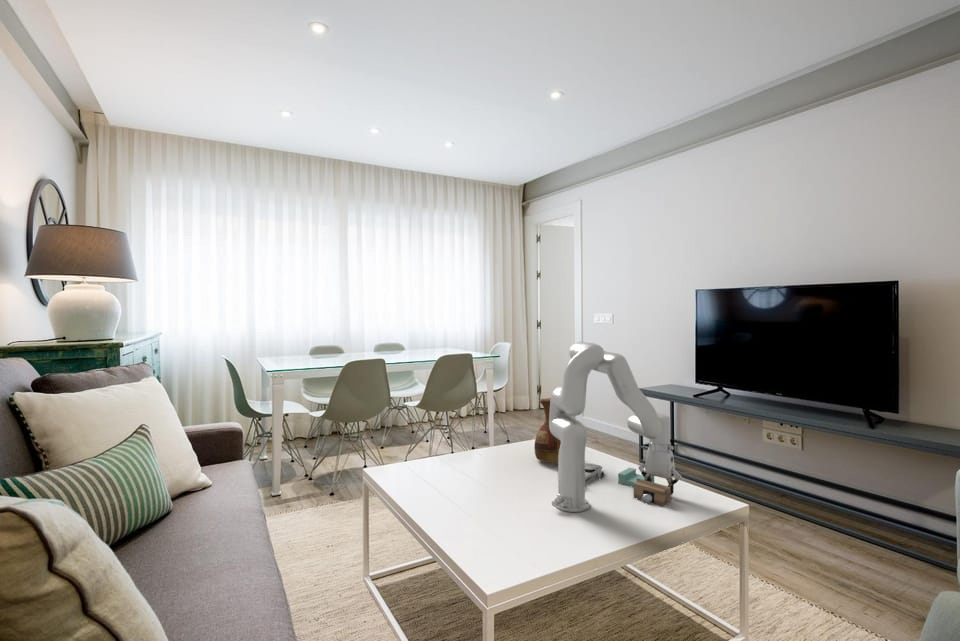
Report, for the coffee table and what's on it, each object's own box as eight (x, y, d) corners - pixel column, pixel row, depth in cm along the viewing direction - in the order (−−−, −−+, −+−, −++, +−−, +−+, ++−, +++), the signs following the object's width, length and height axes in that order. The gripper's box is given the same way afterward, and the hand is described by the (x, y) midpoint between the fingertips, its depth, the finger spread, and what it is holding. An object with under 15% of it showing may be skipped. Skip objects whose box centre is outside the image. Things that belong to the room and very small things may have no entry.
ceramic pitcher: (553, 452, 235) (553, 392, 235) (586, 462, 220) (586, 398, 219) (525, 460, 223) (525, 397, 222) (558, 471, 207) (558, 404, 207)
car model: (557, 484, 193) (557, 472, 193) (586, 469, 211) (586, 458, 211) (581, 491, 186) (581, 479, 186) (609, 475, 204) (609, 463, 204)
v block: (643, 489, 186) (643, 479, 186) (618, 483, 194) (618, 473, 194) (654, 483, 193) (654, 473, 193) (629, 476, 201) (629, 467, 201)
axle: (649, 504, 172) (649, 496, 172) (641, 503, 175) (641, 494, 175) (667, 494, 182) (666, 486, 182) (659, 492, 184) (658, 484, 184)
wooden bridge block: (663, 506, 170) (663, 491, 170) (633, 497, 178) (633, 483, 178) (670, 501, 175) (670, 487, 175) (640, 493, 183) (640, 479, 183)
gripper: (686, 449, 177) (686, 495, 178) (642, 440, 190) (642, 483, 190) (678, 453, 172) (678, 501, 172) (633, 444, 184) (633, 489, 185)
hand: (659, 491), depth 181 cm, fingers open, 7 cm apart
